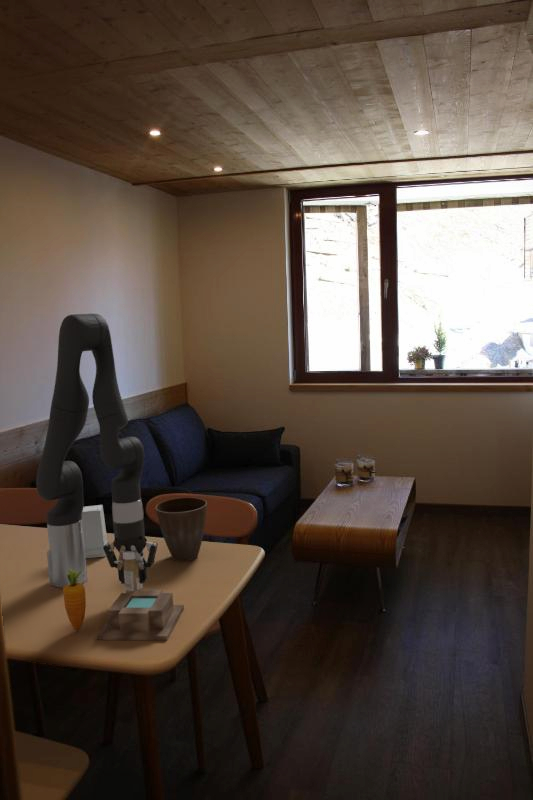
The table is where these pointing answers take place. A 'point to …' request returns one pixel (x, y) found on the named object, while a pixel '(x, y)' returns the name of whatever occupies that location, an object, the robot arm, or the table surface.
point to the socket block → (142, 617)
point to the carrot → (75, 600)
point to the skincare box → (94, 531)
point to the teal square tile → (141, 603)
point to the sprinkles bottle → (131, 572)
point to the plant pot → (182, 526)
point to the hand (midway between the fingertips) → (133, 582)
